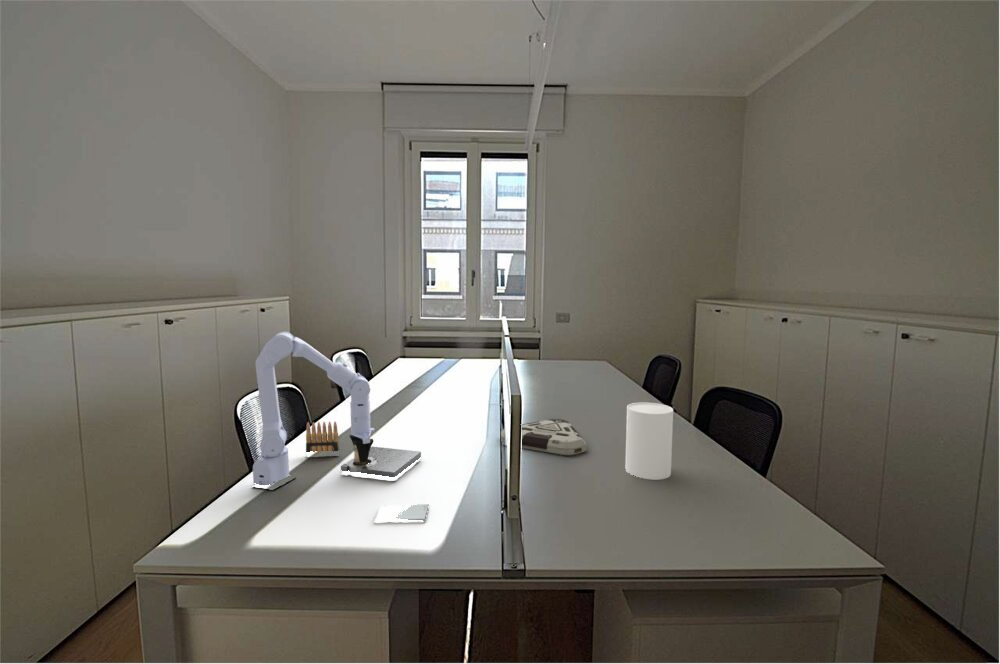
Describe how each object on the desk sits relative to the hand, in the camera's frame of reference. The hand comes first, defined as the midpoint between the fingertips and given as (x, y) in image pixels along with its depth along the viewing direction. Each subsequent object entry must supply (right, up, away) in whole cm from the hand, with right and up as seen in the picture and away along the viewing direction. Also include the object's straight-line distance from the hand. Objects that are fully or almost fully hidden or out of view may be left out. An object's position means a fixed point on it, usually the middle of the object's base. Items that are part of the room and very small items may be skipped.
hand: (361, 459), depth 150 cm
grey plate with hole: (+6, -4, +3) cm, 7 cm away
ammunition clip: (-17, -3, +14) cm, 22 cm away
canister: (+89, -4, +1) cm, 89 cm away
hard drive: (+18, -8, -27) cm, 34 cm away
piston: (0, -2, 0) cm, 2 cm away
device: (+61, -1, +31) cm, 68 cm away
